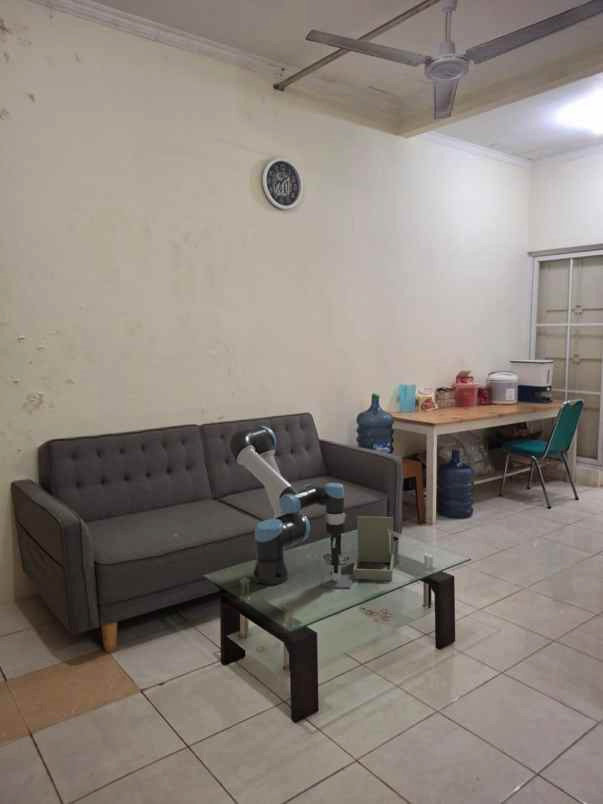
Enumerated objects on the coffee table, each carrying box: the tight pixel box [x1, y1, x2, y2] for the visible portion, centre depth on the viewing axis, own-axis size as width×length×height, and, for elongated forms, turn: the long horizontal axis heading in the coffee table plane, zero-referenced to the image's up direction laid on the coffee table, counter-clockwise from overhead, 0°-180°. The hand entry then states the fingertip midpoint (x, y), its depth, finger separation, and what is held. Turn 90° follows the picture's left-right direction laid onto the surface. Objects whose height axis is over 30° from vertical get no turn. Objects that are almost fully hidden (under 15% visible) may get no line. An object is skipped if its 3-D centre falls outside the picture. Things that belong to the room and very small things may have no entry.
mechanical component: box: [323, 553, 350, 567], centre depth 238 cm, size 3×10×10 cm, turn 79°
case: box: [352, 515, 395, 581], centre depth 248 cm, size 16×20×20 cm
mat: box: [319, 573, 354, 589], centre depth 239 cm, size 12×12×1 cm
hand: (337, 578), depth 238 cm, fingers closed on mechanical component, 3 cm apart
